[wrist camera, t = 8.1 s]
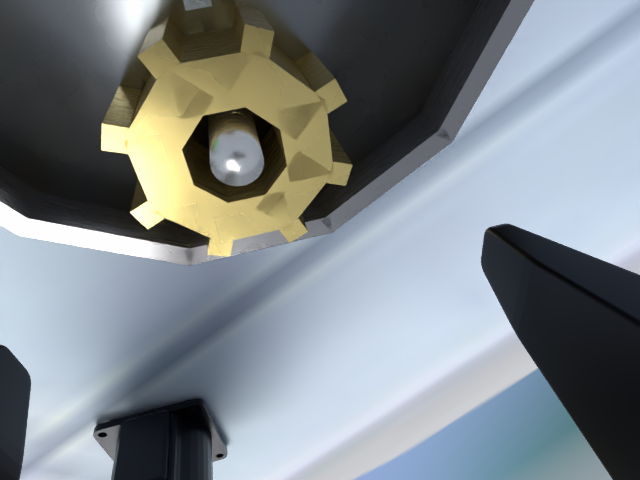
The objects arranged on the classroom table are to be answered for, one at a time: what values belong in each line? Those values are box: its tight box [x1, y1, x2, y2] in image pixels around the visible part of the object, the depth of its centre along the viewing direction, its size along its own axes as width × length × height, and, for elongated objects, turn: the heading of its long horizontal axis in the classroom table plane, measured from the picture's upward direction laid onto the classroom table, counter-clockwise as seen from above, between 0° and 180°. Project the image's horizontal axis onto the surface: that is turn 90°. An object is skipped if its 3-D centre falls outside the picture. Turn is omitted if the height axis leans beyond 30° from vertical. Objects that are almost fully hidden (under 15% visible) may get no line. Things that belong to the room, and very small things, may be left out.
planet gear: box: [101, 4, 353, 257], centre depth 15 cm, size 7×7×4 cm
